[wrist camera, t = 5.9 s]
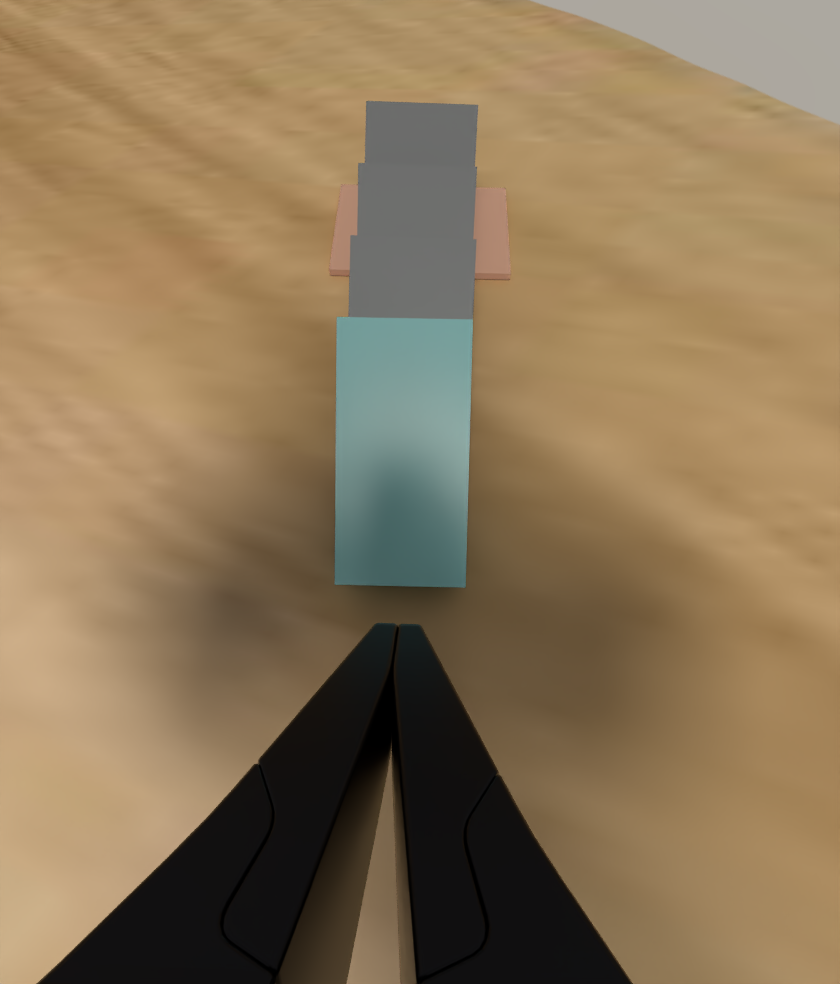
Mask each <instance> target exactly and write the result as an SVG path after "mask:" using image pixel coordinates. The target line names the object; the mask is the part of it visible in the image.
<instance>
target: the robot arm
mask: <svg viewBox="0 0 840 984" xmlns="http://www.w3.org/2000/svg"><path fill="white" fill-rule="evenodd" d="M391 745H392V781H393V807H394V832H395V858H396V883H397V908H398V934H399V959H400V984H633V983H632V982H631V980H630V979H629V977H628V976H627V974H626V973H625V971H624V970H623V968H622V967H621V965H620V964H619V963H618V961H617V960H616V958H615V957H614V955H613V954H612V952H611V951H610V949H609V948H608V946H607V945H606V943H605V942H604V940H603V939H602V937H601V936H600V934H599V933H598V931H597V930H596V928H595V927H594V926H593V924H592V923H591V921H590V920H589V918H588V917H587V915H586V914H585V912H584V911H583V909H582V908H581V906H580V905H579V903H578V902H577V900H576V899H575V897H574V896H573V894H572V893H571V892H570V890H569V889H568V887H567V886H566V884H565V883H564V881H563V880H562V878H561V877H560V875H559V874H558V872H557V870H556V869H555V867H554V866H553V864H552V863H551V861H550V860H549V858H548V856H547V855H546V853H545V852H544V850H543V849H542V847H541V846H540V844H539V842H538V841H537V839H536V838H535V836H534V835H533V833H532V831H531V829H530V828H529V826H528V824H527V822H526V820H525V819H524V817H523V815H522V813H521V812H520V810H519V808H518V806H517V805H516V803H515V801H514V799H513V798H512V796H511V794H510V792H509V790H508V788H507V786H506V784H505V782H504V781H503V779H502V777H501V776H500V775H498V770H497V768H496V766H495V764H494V762H493V760H492V758H491V756H490V755H489V753H488V751H487V749H486V747H485V745H484V743H483V741H482V739H481V738H480V736H479V734H478V732H477V730H476V728H475V726H474V724H473V722H472V721H471V719H470V717H469V715H468V713H467V711H466V709H465V707H464V705H463V704H462V702H461V700H460V698H459V696H458V694H457V692H456V690H455V689H454V687H453V685H452V683H451V681H450V679H449V677H448V675H447V673H446V672H445V670H444V668H443V666H442V664H441V662H440V660H439V658H438V656H437V655H436V653H435V651H434V649H433V647H432V645H431V643H430V641H429V639H428V638H427V636H426V634H425V632H424V630H423V628H422V627H421V626H420V625H418V624H401V625H399V627H398V626H397V625H396V624H394V623H376V624H375V625H374V626H373V627H372V628H371V629H370V631H369V632H368V633H367V634H366V635H365V636H364V637H363V639H362V640H361V641H360V642H359V643H358V644H357V646H356V647H355V648H354V649H353V650H352V651H351V653H350V654H349V655H348V656H347V657H346V658H345V660H344V661H343V662H342V663H341V664H340V665H339V667H338V668H337V669H336V670H335V671H334V672H333V674H332V675H331V676H330V677H329V678H328V679H327V681H326V682H325V683H324V684H323V685H322V686H321V688H320V689H319V690H318V691H317V692H316V693H315V695H314V696H313V697H312V698H311V699H310V700H309V701H308V703H307V704H306V705H305V706H304V707H303V708H302V710H301V711H300V712H299V713H298V714H297V715H296V717H295V718H294V719H293V720H292V721H291V722H290V724H289V725H288V726H287V727H286V728H285V729H284V731H283V732H282V733H281V734H280V735H279V736H278V738H277V739H276V740H275V741H274V742H273V743H272V745H271V746H270V747H269V748H268V749H267V750H266V752H265V753H264V754H263V755H262V756H261V757H260V758H259V760H258V764H254V765H253V766H252V767H251V769H250V770H249V771H248V772H247V773H246V774H245V776H244V777H243V778H242V779H241V780H240V781H239V783H238V784H237V785H236V786H235V787H234V788H233V789H232V790H231V792H230V793H229V794H228V795H227V796H226V797H225V798H224V799H223V800H222V802H221V803H220V804H219V805H218V806H217V807H216V808H215V809H214V810H213V811H212V813H211V814H210V815H209V816H208V817H207V818H206V819H205V820H204V821H203V822H202V823H201V824H200V825H199V826H198V827H197V828H196V829H195V830H194V831H193V832H192V833H191V834H190V835H189V836H188V837H187V838H186V839H185V840H184V841H183V842H182V843H181V844H180V845H179V846H178V847H177V848H176V849H175V850H174V851H173V852H172V853H171V854H170V856H169V857H168V858H166V859H165V860H164V861H163V862H162V863H161V864H160V865H159V866H158V867H157V868H156V869H155V870H154V871H153V872H152V873H151V874H150V875H149V876H148V877H147V878H146V879H145V880H144V881H143V882H142V883H141V884H140V885H139V886H138V887H137V888H136V889H135V890H134V891H133V892H132V893H131V894H129V895H128V896H127V897H126V898H125V899H124V900H123V901H122V902H121V903H120V904H119V905H118V906H117V907H116V908H115V909H114V910H113V911H112V912H111V913H110V914H109V915H108V916H107V917H106V918H105V919H104V920H103V921H102V922H101V923H100V924H99V925H98V926H97V927H96V928H95V929H93V930H92V931H91V932H90V933H89V934H88V935H87V936H86V937H85V938H84V939H83V940H82V941H81V942H80V943H79V944H78V945H77V946H76V947H75V948H74V949H73V950H72V951H71V952H70V953H69V954H68V955H67V956H66V957H65V958H64V959H63V960H62V961H61V962H60V963H58V964H57V965H56V966H55V967H54V968H53V969H52V970H51V971H50V972H49V973H48V974H47V975H46V976H44V977H43V978H42V979H41V980H40V981H39V982H38V983H37V984H346V983H347V977H348V972H349V967H350V962H351V957H352V952H353V947H354V941H355V936H356V931H357V926H358V921H359V916H360V910H361V905H362V900H363V895H364V890H365V885H366V880H367V874H368V869H369V864H370V859H371V854H372V849H373V844H374V838H375V833H376V828H377V823H378V818H379V813H380V808H381V802H382V797H383V792H384V787H385V782H386V777H387V772H388V766H389V760H390V754H391Z"/></svg>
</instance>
